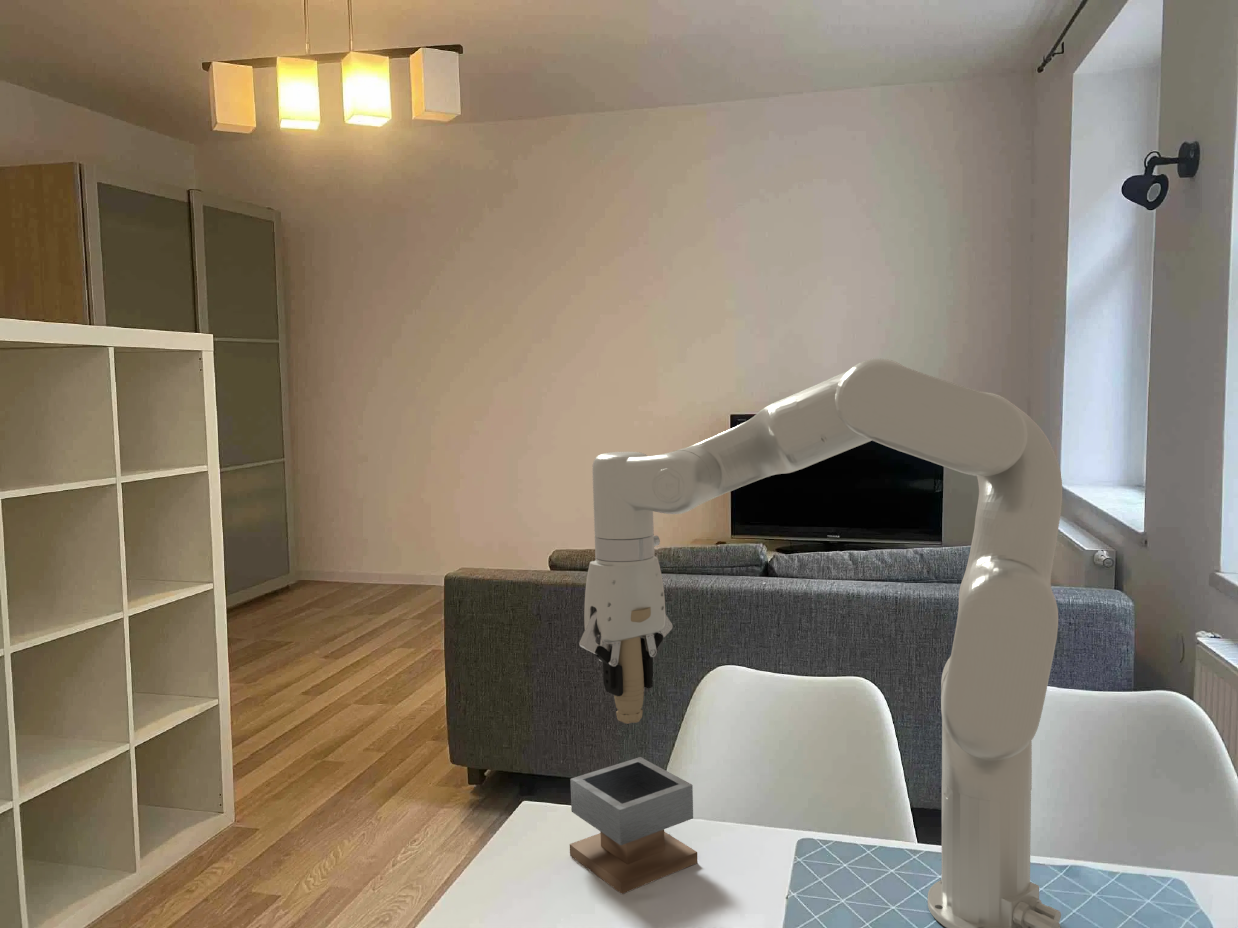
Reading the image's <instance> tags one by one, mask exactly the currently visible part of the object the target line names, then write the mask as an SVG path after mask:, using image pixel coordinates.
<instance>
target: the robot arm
mask: <svg viewBox="0 0 1238 928" xmlns="http://www.w3.org/2000/svg"><path fill="white" fill-rule="evenodd" d="M871 441H872V442H875V443H878V444H880V445H883V446H885V447H888V448H890V449H893V450H896V451H898V452H902V453H904V454H906V455H910V456H913V457H916V458H918V459H921V460H925V461H927V462H931V463H932V464H936V465H939V466H942V467H944V468H948V469H950V470H953V471H956V472H959V473H962V474H965V475H970V476H973V477H976V479H977V483H978V498H977V499H978V501H977V507H976V513H975V519H974V530H973V533H972V540H971V544H970V550H969V554H968V559H967V565H966V568H965V571H964V575H963V578H962V579H961V583H960V586H959V591H958V610H957V618H956V625H955V632H954V636H953V641H952V647H951V651H950V652H951V653H950V656H949V657H948V659H947V661H946V663H945V664H944V668H943V670H942V674H941V681H940V683H941V684H940V686H941V687H940V696H941V697H940V710H941V711H940V712H941V713H940V714H941V724H942V725H941V879H940V880H939V881H938V880H937V881H936V882H935V883H933V885H931V887H930V888H929V890H928V892H927V908H928V910H929V913H930V914H931V915H932V916H933V918H934V919H935V920H936V921H937V922H938V923H939V924H941V925H942V926H943V927H945V928H1061V924H1060V921H1061V919H1062V912H1061V911H1060V910H1058V909H1056V908H1054V907H1052V906H1050V905H1046V904H1044V903H1043V902H1042V900H1040V886H1039V884H1036V883H1034V882H1031V832H1032V831H1031V824H1032V823H1031V817H1032V816H1031V815H1032V813H1031V812H1032V809H1031V808H1032V802H1031V801H1032V786H1033V783H1032V781H1033V778H1032V777H1033V774H1032V773H1033V767H1032V766H1033V765H1032V764H1033V763H1032V762H1033V761H1032V760H1033V759H1032V758H1033V756H1032V755H1033V748H1032V747H1033V745H1032V744H1033V743H1032V741H1033V740H1034V738H1035V736H1036V734H1037V731H1038V729H1039V727H1040V726H1039V725H1040V722H1041V718H1042V713H1043V710H1044V709H1043V708H1044V704H1045V701H1046V700H1045V699H1046V695H1047V691H1048V684H1049V679H1050V674H1051V669H1052V664H1053V659H1054V655H1055V654H1054V653H1055V650H1056V646H1057V645H1056V644H1057V638H1058V629H1059V607H1058V604H1057V600H1056V597H1055V594H1054V592H1053V589H1052V584H1051V581H1052V572H1053V564H1054V558H1055V555H1056V554H1055V553H1056V547H1057V541H1058V534H1059V527H1060V520H1061V515H1062V514H1061V513H1062V507H1063V506H1062V504H1063V479H1062V472H1061V467H1060V464H1059V461H1058V458H1057V455H1056V453H1055V451H1054V448H1053V446H1052V444H1051V442H1050V440H1049V438H1048V437H1047V435H1046V434H1045V432H1044V431H1043V430H1042V428H1041V427H1040V426H1039V425H1038V423H1036V421H1035V420H1033V419H1032V418H1031V416H1030V415H1028V414H1027V413H1026V412H1024V411H1023V410H1022V409H1021V408H1019V407H1018V406H1017V405H1015V404H1014V403H1012V402H1011V401H1009V400H1008V399H1007V398H1006V397H1003V396H1002V395H999V394H996V393H993V392H986V391H980V390H977V389H973V388H970V387H968V386H967V387H966V386H965V385H960V384H957V383H954V382H951V381H947V380H945V379H942V378H938V377H935V376H932V375H929V374H926V373H923V372H920V371H918V370H915V369H912V368H910V367H907V366H905V365H902V364H901V363H900V362H897V361H895V360H892V359H887V358H871V359H866V360H864V361H860V362H858V363H857V364H855V365H853V366H852V367H851V368H849V369H848V370H847V371H844V372H841V373H840V374H837V375H835V376H832V377H830V378H829V379H826V380H823V381H820V382H819V383H817V384H814V385H812V386H810V387H807V388H805V389H803V390H801V391H798V392H796V393H794V394H791V395H788V396H787V397H784V398H782V399H779V400H776V401H775V402H772V403H770V404H768V405H767V406H765V407H763V408H762V409H760V410H759V411H758V412H757V413H756V414H755V415H754V416H752V417H751V418H750V419H748V420H746V421H744V422H741V423H740V424H737V425H736V426H734V427H732V428H729V429H727V430H724V431H723V432H720V433H718V434H716V435H713V436H711V437H709V438H707V439H704V440H702V441H699V442H696V443H695V444H692V445H690V446H687V447H683V448H680V449H677V450H673V451H670V452H665V453H661V454H655V455H647V453H646V454H645V453H643V452H640V451H639V452H638V451H614V452H613V451H611V452H605V453H601V454H598V455H596V457H594V460H593V463H592V493H593V499H592V500H593V501H592V502H593V518H594V519H593V523H594V525H593V526H594V527H593V528H594V530H593V531H594V554H595V557H594V558H595V560H593V561H590V562H589V565H588V570H587V576H586V583H585V592H584V593H585V594H584V613H583V615H584V619H583V621H584V626H583V627H584V632H583V633H582V635H581V637H580V639H579V643H578V644H579V647H581V648H582V649H584V650H586V651H589V652H590V653H592V654H593V655H594V656H595V657H596V658H597V659H598V661H600V662H601V663H602V667H603V668H602V670H603V671H602V672H603V686H604V689H605V692H606V693H609V694H611V695H613V696H614V695H615V696H622V694H623V672H622V665H619V664H618V660H619V652H620V644H621V641H624V640H628V639H632V638H636V637H640V639H641V652H642V662H643V673H644V675H643V676H644V688H646V689H652V688H653V685H654V683H653V680H654V679H653V677H654V663H653V661H654V659H653V658H654V657H656V656H657V653H658V651H657V649H658V648H659V646H660V645H661V643H662V642H663V639H664V638H665V637H666V636H668V634H669V633H670V632H671V631H672V630H673V623H672V622H671V620H670V618H669V617H668V615H667V614H666V601H665V599H666V597H665V589H664V581H663V576H662V571H661V566H660V562H659V558H658V557H657V556H655V547H658V546H660V544H661V539H660V537H659V536H658V535H655V534H654V512H655V513H660V514H667V515H680V514H681V515H682V514H685V513H688V512H690V511H692V510H694V509H696V508H697V507H699V506H700V505H702V504H705V503H707V502H709V501H711V500H713V499H715V498H717V497H718V498H719V497H720V496H722V495H724V494H727V493H729V492H732V491H735V490H737V489H739V488H741V487H745V486H747V485H750V484H752V483H755V482H757V481H760V480H763V479H765V478H770V477H771V476H775V475H781V474H791V473H795V472H797V471H799V470H803V469H805V468H808V467H810V466H812V465H815V464H818V463H819V462H822V461H825V460H827V459H829V458H832V457H834V456H837V455H840V454H842V453H844V452H847V451H849V450H851V449H854V448H856V447H859V446H862V445H864V444H865V445H866V444H867V443H870V442H871ZM649 607H651V616H650V617H649V618H648V619H647V620H645V621H643V622H631V611H634V610H640V609H644V608H649ZM597 637H600V643H599V644H598V643H597V642H596V640H597Z"/></svg>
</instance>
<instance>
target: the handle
mask: <svg viewBox="0 0 1238 928" xmlns="http://www.w3.org/2000/svg"><path fill="white" fill-rule="evenodd" d="M650 616H651V607H649V608H644V609H640V610H634V611H631V622H643V621H645V620H647V619H648V618H649V617H650ZM618 664H619V665H622V672H623V694H622V696H615V695H613V696H614V697H613V699H614V703H615V708H616V709H617V711H615V714H616V718H617V719H616V720H617V721H618V722H622V723H623V724H632V723H634V724H636V723H639V722H640V720H641V719H642V718H643V712H644V711H643V705H644V696H645V687H644V676H643V675H644V673H643V662H642V652H641V639H640V637H636V638H632V639H628V640H624V641H621V644H620V652H619V660H618Z"/></svg>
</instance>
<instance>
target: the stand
mask: <svg viewBox="0 0 1238 928" xmlns="http://www.w3.org/2000/svg"><path fill="white" fill-rule="evenodd" d="M569 856H571V857H572V858H573V859H575V860H576V861H577V862H578V863H580V864H582V866H584V867H585V868H587V870H589V871H590V872H592V873H593V874H594V875H596V876H597V877H598V878H600V879H601V880H602V881H603V882H605V883H606V884H608V885H609V886H611V888H613V889H614V890H616V891H617V892H618V893H620V895H624V894H626V893H629V892H631V891H633V890H635V889H638V888H640V887H643V886H645V885H648V884H650V883H653V882H655V881H657V880H660V879H662V878H664V877H667V876H669V875H672V874H674V873H677V872H680V871H682V870H685V869H687V868H689V867H691V866H694V865H696V864H698V862H699V861H698V851H696V850H695V849H693V848H692V847H690V846H688V845H687V844H685V843H684V842H682V841H680V840H679V839H677V838H675V837H674V836H673V835H671V834H669V833H668V832H666V831H665V829H664V830H661V831H658V832H656V833H653V834H650V835H648V836H645V837H642V838H640V839H637V840H634V841H632V842H629V843H626V844H624V845H619V844H618V843H616V842H615V841H614V840H612V839H611V838H609V837H608V836H606V835H605V834H603V833H602V832H600V831H599V833H596V834H594V835H591V836H589V837H585V838H583V839H579V840H577V841H575V842H572V843H569Z"/></svg>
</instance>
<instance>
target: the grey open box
mask: <svg viewBox="0 0 1238 928" xmlns="http://www.w3.org/2000/svg"><path fill="white" fill-rule="evenodd" d="M569 780H570V805H571V807H570V808H571V812H572V813H573V814H574V815H576V816H577V817H579V818H580V819H581V820H583V821H584V822H586V823H588V824H589V825H591V826H592V827H593V828H595V829H596V830H598V831H599V833H600V832H602V833H603V834H605V835H606V836H608V837H609V838H611V839H612V840H614V841H615V842H616V843H618V844H619V845H624V844H626V843H629V842H632V841H634V840H637V839H640V838H642V837H645V836H648V835H650V834H653V833H656V832H658V831H661V830H664V831H665V829H669V828H672V827H674V826H676V825H680V824H682V823H685V822H688V821H690V820H692V819H694V796H693V794H694V793H693V791H694V790H693V789H694V788H693V784H692V783H690V782H688V781H687V780H685V779H683V778H681V777H678V776H677V775H675V774H673V773H671V772H669V771H667V770H665V768H664V769H663V768H661V767H660V766H659V765H657V764H654V763H652V762H651V761H649V760H647V759H645V758H644V757H641V756H639V757H636V758H633V759H629V760H626V761H622V762H620V763H616V764H613V765H610V766H607V767H604V768H601V769H598V770H593V771H591V772H588V773H585V774H581V775H578V776H575V777H572V778H570V779H569Z"/></svg>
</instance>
